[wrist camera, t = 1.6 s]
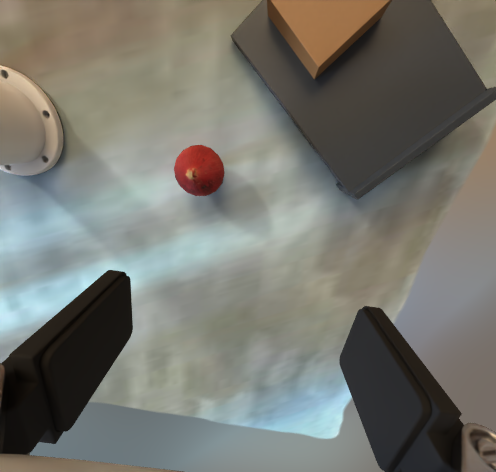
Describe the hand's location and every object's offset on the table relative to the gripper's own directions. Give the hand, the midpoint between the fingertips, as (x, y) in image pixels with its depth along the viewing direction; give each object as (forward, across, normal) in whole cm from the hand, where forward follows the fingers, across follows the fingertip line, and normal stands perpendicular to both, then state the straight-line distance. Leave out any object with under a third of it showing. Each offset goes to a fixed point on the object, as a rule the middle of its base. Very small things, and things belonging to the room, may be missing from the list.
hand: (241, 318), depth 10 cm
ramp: (+25, -9, -16) cm, 31 cm away
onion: (+25, +7, -3) cm, 26 cm away
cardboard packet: (+23, -4, -20) cm, 31 cm away
